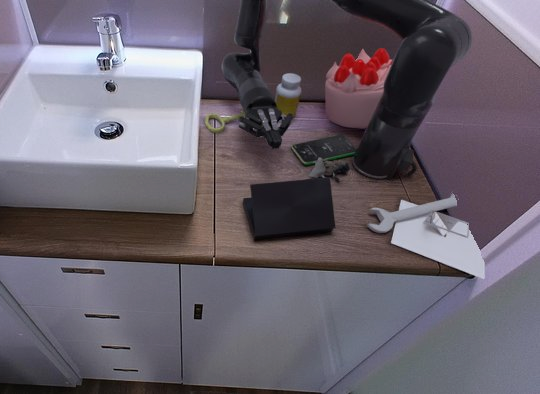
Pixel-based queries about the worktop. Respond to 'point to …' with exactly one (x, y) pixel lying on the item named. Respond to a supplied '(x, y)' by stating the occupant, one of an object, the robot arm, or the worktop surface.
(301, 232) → the laptop
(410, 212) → the wrench
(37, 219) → the worktop surface
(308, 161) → the smartphone
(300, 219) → the laptop screen
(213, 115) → the key
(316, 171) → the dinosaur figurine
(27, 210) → the worktop surface
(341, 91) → the cake
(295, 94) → the pill bottle
